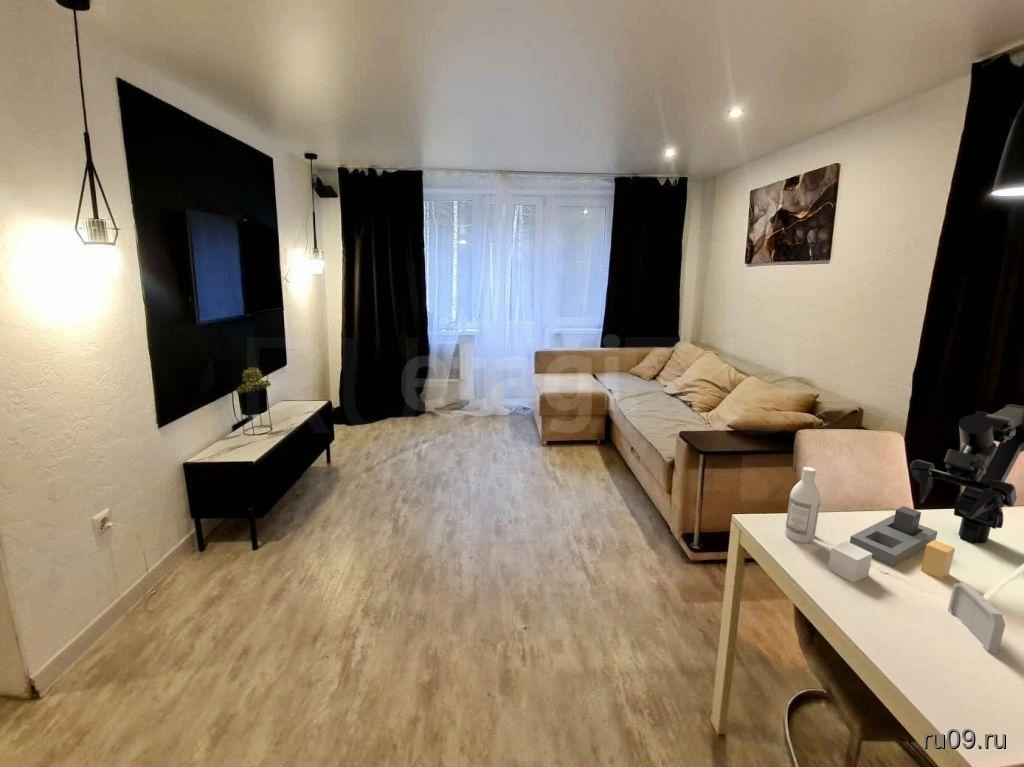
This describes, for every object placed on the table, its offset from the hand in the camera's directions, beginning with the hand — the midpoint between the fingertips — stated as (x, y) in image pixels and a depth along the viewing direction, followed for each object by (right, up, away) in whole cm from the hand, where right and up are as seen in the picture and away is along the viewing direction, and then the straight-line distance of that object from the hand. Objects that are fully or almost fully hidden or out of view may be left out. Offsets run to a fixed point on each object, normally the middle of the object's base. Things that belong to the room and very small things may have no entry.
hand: (944, 509), depth 115 cm
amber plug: (0, -16, +3) cm, 17 cm away
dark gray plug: (+4, -12, +17) cm, 21 cm away
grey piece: (-1, -14, +14) cm, 20 cm away
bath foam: (-23, -13, +19) cm, 32 cm away
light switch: (-7, -21, -15) cm, 27 cm away
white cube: (-20, -16, +4) cm, 26 cm away
